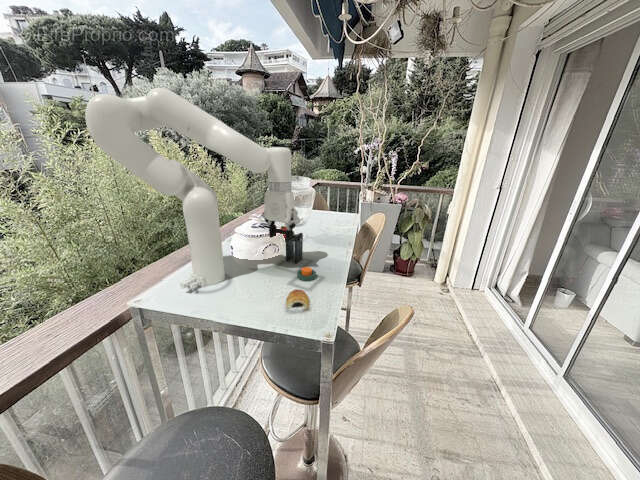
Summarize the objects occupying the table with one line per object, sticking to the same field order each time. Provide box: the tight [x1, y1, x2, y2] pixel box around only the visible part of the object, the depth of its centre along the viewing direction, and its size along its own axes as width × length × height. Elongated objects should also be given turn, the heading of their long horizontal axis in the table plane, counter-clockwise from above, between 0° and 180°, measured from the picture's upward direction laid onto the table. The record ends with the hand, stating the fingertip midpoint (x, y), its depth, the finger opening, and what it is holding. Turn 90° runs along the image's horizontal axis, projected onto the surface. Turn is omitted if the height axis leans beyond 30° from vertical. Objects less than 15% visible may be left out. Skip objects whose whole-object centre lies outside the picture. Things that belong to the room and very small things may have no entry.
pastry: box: [286, 288, 310, 311], centre depth 79 cm, size 9×7×4 cm
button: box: [301, 266, 313, 276], centre depth 92 cm, size 4×4×2 cm
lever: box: [273, 227, 297, 241], centre depth 97 cm, size 12×6×2 cm
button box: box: [296, 268, 317, 283], centre depth 92 cm, size 10×8×3 cm
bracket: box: [285, 230, 304, 265], centre depth 103 cm, size 12×9×13 cm
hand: (280, 237), depth 93 cm, fingers closed on lever, 6 cm apart
